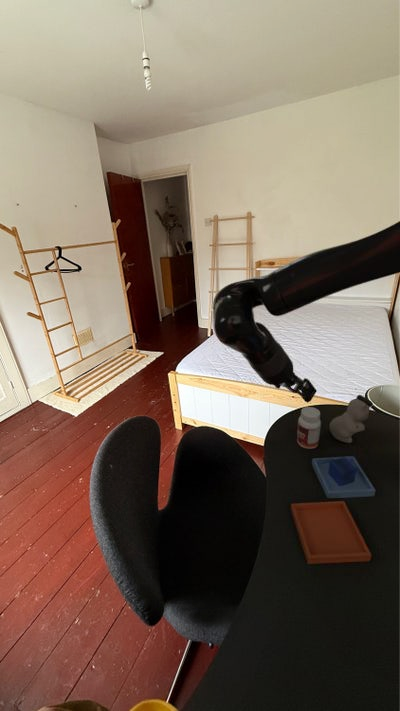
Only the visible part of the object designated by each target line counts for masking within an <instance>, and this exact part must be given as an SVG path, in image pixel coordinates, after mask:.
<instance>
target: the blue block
mask: <svg viewBox="0 0 400 711" xmlns="http://www.w3.org/2000/svg"><path fill="white" fill-rule="evenodd" d="M341 457H342V458H339V459H336V460H332V461H330V465H329V472H328V474H329V475H330V476H331V477H332V478H333V479H334V481H335V482H336V483H337V484H338V485H339V486H342V485H346V484H349V483H352V482H354V481H355V476H356V471H357V469H356V468H355V467H354V466H353V465H352V464H351V463H350V462H349V461H348V460H347V459H346V458H345V457H346V456H341Z"/></svg>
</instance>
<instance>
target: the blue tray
mask: <svg viewBox="0 0 400 711" xmlns="http://www.w3.org/2000/svg"><path fill="white" fill-rule="evenodd" d="M342 457H343V456H333V457H332V456H331V457H316V458H315V457H314V458H312V459H311V466H312V469H313V470H314V472H315V474H316V476H317V478H318V481H319V483H320V486H321V488H322V490H323V492H324V494H325V497H326V498H327V499H330V500H331V499H348V498H349V499H350V498H367V497H375V495H376V489H375V487H374V486H373V484H372V482H371V481H370V480H369V478H368V476H367V475H366V472H364V470H363V468H362V467H361V465H360V464H359V462H358V461H357V459H356V458H355V456H353V455H352V456H349V455H348V456H344V457H345V458H346V459H347V460H348V461H349V462H350V463H351V464H352V465H353V466H354V467H355V468H356V469H357V471H356V476H355V481H354V482H352V483H349V484H346V485H342V486H339V485H338V484H337V483H336V482H335V481H334V479H333V478H332V477H331V476H330V475H329V474H328V472H329V465H330V461H332V460H336V459H339V458H342Z"/></svg>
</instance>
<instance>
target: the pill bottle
mask: <svg viewBox="0 0 400 711" xmlns="http://www.w3.org/2000/svg"><path fill="white" fill-rule="evenodd" d="M321 426H322V421H321V411H320V410H319V409H317V408H315V407H313V406H305V407H303V408H302V409H301V410H300V416H299V418H298V421H297V432H296V434H297V435H296V442H297V444H298V446H300V447H301V448H303V449H308V450H312V449H316V448H317V447H318V446H319V440H320V434H321Z"/></svg>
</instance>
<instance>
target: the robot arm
mask: <svg viewBox="0 0 400 711" xmlns="http://www.w3.org/2000/svg"><path fill="white" fill-rule="evenodd" d="M396 274H400V220H399V221H397V222H395V223H393V224H391V225H390V226H388V227H386V228H383V229H382V230H379V231H377V232H375V233H372V234H370V235H367V236H364V237H361V238H359V239H356V240H352V241H350V242H346V243H343V244H339V245H335V246H331V247H327V248H323V249H320V250H316V251H313V252H311V253H308V254H305V255H303V256H300V257H299V258H296V259H294V260H292V261H290V262H289V263H286V264H285V265H283V266H281V267H278V268H277V269H275V270H273V271H271V272H269V273H268V274H264V275H260V276H255V277H251V278H247V279H243V280H239V281H234V282H231V283H229V284H227V285H225V286H223V287H222V288H221V289H219V291H218V292H217V293H216V294H215V296H214V298H213V301H212V318H213V325H212V326H213V331H214V335H215V336H216V339H218V341H219V342H220V344H222V345H224V347H225V346H226V347H228V348H230V349H232V350H233V351H235V352H238V353H240V355H241V356H242V357H243V358H244V359H245V360H246V361H247V363H248V365H249V366H250V367H251V369H252V370H253V371H254V372H255V374H257V375H258V376H259V378H261V380H262V381H263V382H264V383H266V384H267V385H270V386H274V387H275V388H276V389H277V390H279V389H280V388H281V387H282V388H286V389H287V390H288V391H289V392H291V393H293V394H298V395H299V396H300V397H301V398H302V399H303V401H304V402H305V403H311V401H312V400H313V398H314V397H315V395H316V393H317V391H318V390H317V389H316V387H315V386H314V385H313V384H312V382H311V381H310V379H308V378H306V377H304V378H303V379H302V378H301V377H299V376H298V375H296V372H294V364H293V361H292V359H291V358H290V356H289V354H287V351H285V349H284V348H283V346H282V345H281V344H280V343H279V341H278V340H277V339H276V338H275V337H274V335H273V334H272V333H271V331H270V330H269V328H268V327H267V326H266V325H265V324H263V323H262V322H259V321H256V319H255V312H254V309H255V308H257V307H262V306H263V307H264V308H265V309H266V311H267V312H268V313H269V314H270V315H272V316H274V317H282V316H285V315H287V314H291V313H292V312H295V311H298V310H300V309H301V308H304V307H306V306H308V305H311V304H313V303H316V302H317V301H320V300H322V299H324V298H326V297H327V298H328V297H329V296H332V295H334V294H337V293H339V292H342V291H345V290H349V289H351V288H354V287H356V286H360V285H363V284H366V283H370V282H373V281H376V280H380V279H383V278H386V277H390V276H393V275H396ZM293 386H294V387H293Z"/></svg>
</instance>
